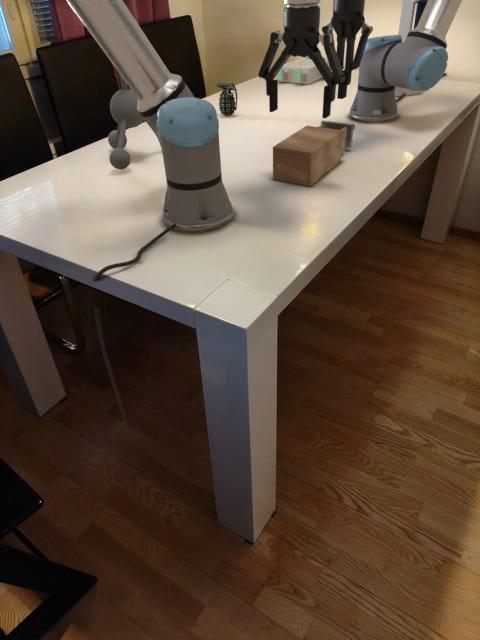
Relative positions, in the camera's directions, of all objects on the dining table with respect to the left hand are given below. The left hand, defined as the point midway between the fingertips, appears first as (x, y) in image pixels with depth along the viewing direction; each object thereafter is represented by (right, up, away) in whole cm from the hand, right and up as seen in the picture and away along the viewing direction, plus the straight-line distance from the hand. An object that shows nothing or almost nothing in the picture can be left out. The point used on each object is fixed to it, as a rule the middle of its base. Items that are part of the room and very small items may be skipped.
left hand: (299, 113), depth 113 cm
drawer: (+10, -2, +21) cm, 23 cm away
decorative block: (+13, +55, +95) cm, 111 cm away
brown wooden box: (+4, -9, +13) cm, 16 cm away
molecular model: (-41, 0, +28) cm, 50 cm away
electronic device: (+47, +37, +68) cm, 91 cm away
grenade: (-18, +23, +56) cm, 63 cm away
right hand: (+14, +12, +18) cm, 26 cm away
